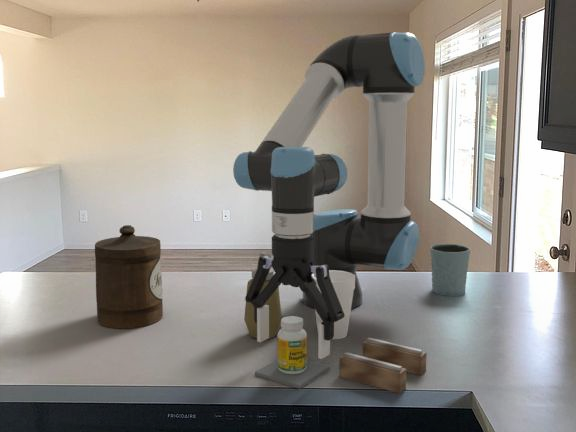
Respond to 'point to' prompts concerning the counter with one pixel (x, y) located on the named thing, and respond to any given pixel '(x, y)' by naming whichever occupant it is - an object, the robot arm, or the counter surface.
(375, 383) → the wooden blocks
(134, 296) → the wooden container
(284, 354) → the supplement bottle
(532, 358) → the counter surface
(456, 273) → the green cup
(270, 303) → the squeeze bottle
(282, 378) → the mat
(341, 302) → the foam cup
